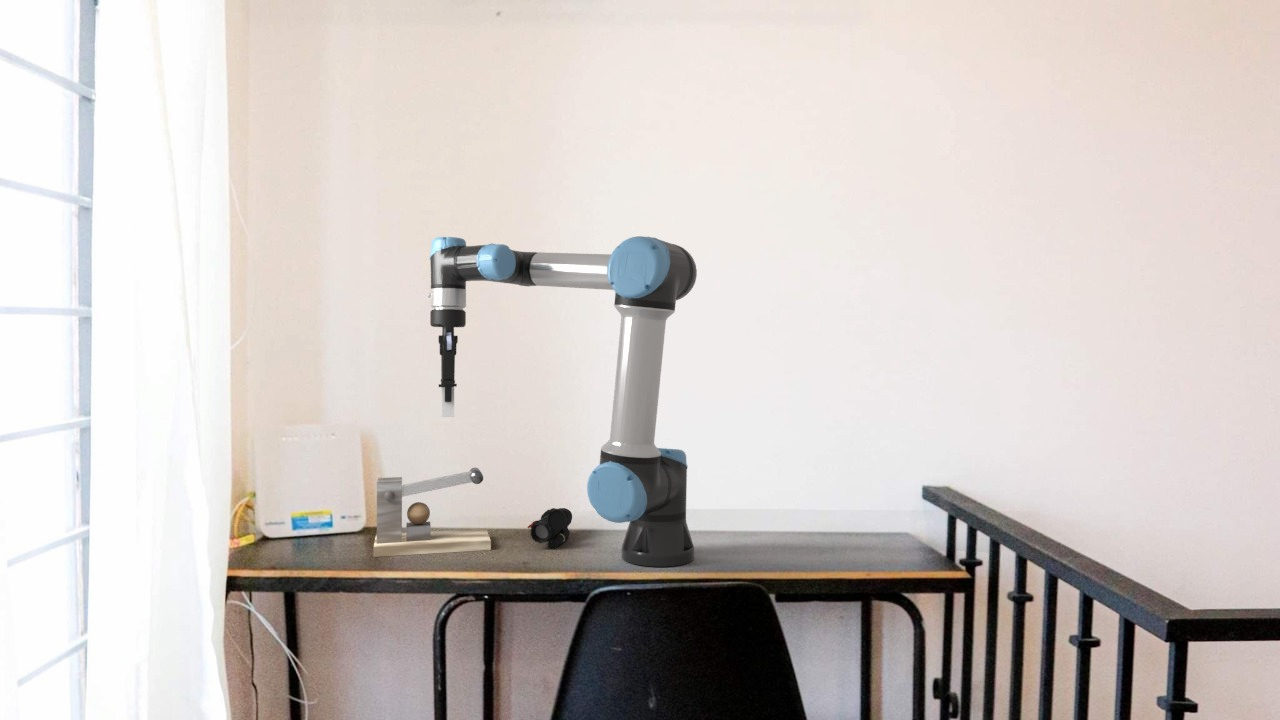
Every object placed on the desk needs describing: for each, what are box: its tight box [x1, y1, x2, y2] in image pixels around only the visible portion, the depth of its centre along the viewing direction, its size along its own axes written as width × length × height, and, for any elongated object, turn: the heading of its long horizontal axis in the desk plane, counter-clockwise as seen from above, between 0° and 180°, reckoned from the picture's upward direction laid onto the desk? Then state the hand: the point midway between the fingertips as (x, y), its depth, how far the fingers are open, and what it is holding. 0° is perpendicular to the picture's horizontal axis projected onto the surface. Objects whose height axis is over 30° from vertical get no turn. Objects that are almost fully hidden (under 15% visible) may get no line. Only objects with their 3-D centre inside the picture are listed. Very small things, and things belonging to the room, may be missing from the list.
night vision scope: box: [527, 507, 573, 550], centre depth 181 cm, size 8×18×10 cm
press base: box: [372, 476, 492, 558], centre depth 175 cm, size 12×24×15 cm, turn 106°
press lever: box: [402, 467, 484, 498], centre depth 175 cm, size 7×21×3 cm, turn 106°
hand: (447, 416), depth 176 cm, fingers closed
